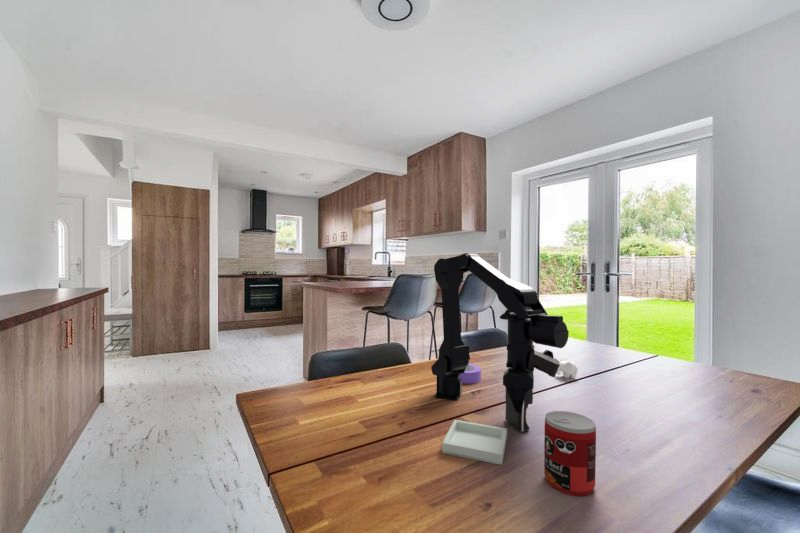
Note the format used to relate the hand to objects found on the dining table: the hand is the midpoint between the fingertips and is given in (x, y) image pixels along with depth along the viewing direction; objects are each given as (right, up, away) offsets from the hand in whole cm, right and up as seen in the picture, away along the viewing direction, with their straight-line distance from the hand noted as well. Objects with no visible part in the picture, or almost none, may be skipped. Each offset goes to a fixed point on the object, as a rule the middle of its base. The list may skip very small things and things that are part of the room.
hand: (519, 406), depth 83 cm
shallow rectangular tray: (-12, -4, -9) cm, 16 cm away
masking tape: (-7, -5, +36) cm, 37 cm away
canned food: (+1, -5, -22) cm, 22 cm away
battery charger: (0, -5, 0) cm, 5 cm away
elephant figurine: (+29, -5, +38) cm, 48 cm away
